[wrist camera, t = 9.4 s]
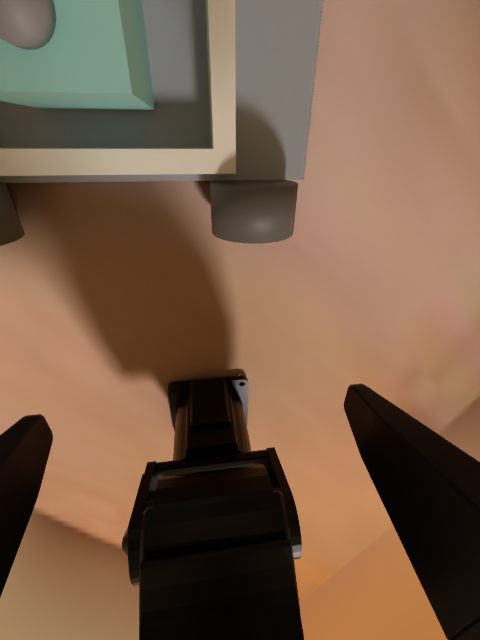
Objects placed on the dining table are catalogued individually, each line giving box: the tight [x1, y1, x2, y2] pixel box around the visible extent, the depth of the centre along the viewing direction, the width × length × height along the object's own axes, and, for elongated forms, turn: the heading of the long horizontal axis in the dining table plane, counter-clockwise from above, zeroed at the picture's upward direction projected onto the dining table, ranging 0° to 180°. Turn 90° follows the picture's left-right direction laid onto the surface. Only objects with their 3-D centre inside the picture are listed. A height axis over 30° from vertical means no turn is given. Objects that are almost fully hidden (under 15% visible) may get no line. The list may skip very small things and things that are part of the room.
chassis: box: [0, 0, 323, 246], centre depth 11 cm, size 17×20×4 cm
